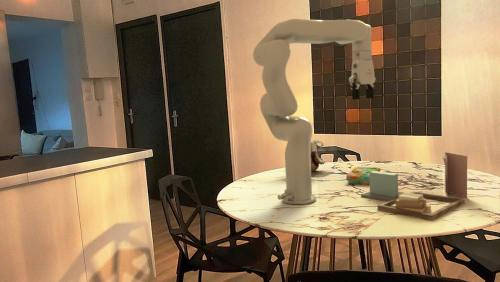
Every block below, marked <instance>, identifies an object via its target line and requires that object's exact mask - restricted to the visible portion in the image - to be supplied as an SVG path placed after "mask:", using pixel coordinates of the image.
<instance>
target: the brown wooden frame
mask: <svg viewBox="0 0 500 282" xmlns="http://www.w3.org/2000/svg"><path fill="white" fill-rule="evenodd" d="M409 193H413V194H421V195H423V199H429V200H434V201H440V202H441V201H442V202H445V203H446V202H448V203H450V204H447V205H445V206H444V207H441V208H439V209H437V210H436V211H434V212H431V213H422V212H416V211H411V210H406V209H400V208H395V207H391V205H394V204H396V200H397V199H398V198H399V197H398V198H395V199H392V200H390V201H384V202H382V203H380V204H377V210H378V211H382V212H388V213H393V214H397V215H401V216H402V215H403V216H407V217H412V218H419V219H421V220H428V221H433V220H437V218H439V217H442V216H444V215H445V214H447V213H449V212H451V211H453V210H455V209H457V208H459V207H461V206H463V205H465V203H466V199H465V198H459V197H453V196H448V195H447V196H446V195H439V194H433V193H426V192H420V191H410V192H409Z"/></svg>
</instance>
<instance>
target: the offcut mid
mask: <svg viewBox="0 0 500 282" xmlns="http://www.w3.org/2000/svg"><path fill="white" fill-rule="evenodd" d="M426 205H427V198H423V200H421V201H420V202H418V203H414V202H407V201H400V200H399V198H398V199H397V200H396V207H402V208H411V209H419V210H422V209H423V208H424V207H425V206H426Z"/></svg>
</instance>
